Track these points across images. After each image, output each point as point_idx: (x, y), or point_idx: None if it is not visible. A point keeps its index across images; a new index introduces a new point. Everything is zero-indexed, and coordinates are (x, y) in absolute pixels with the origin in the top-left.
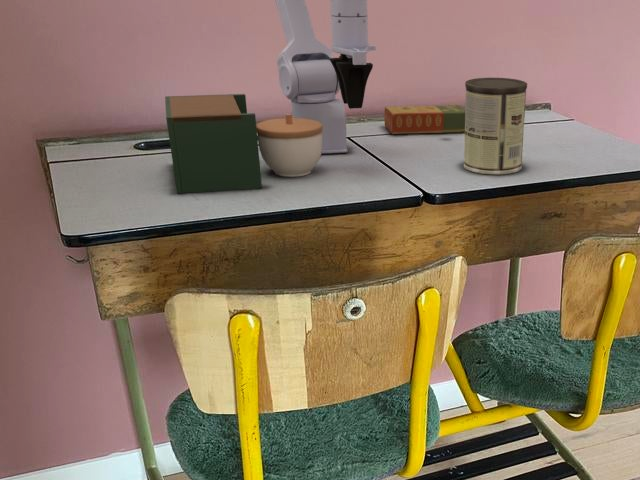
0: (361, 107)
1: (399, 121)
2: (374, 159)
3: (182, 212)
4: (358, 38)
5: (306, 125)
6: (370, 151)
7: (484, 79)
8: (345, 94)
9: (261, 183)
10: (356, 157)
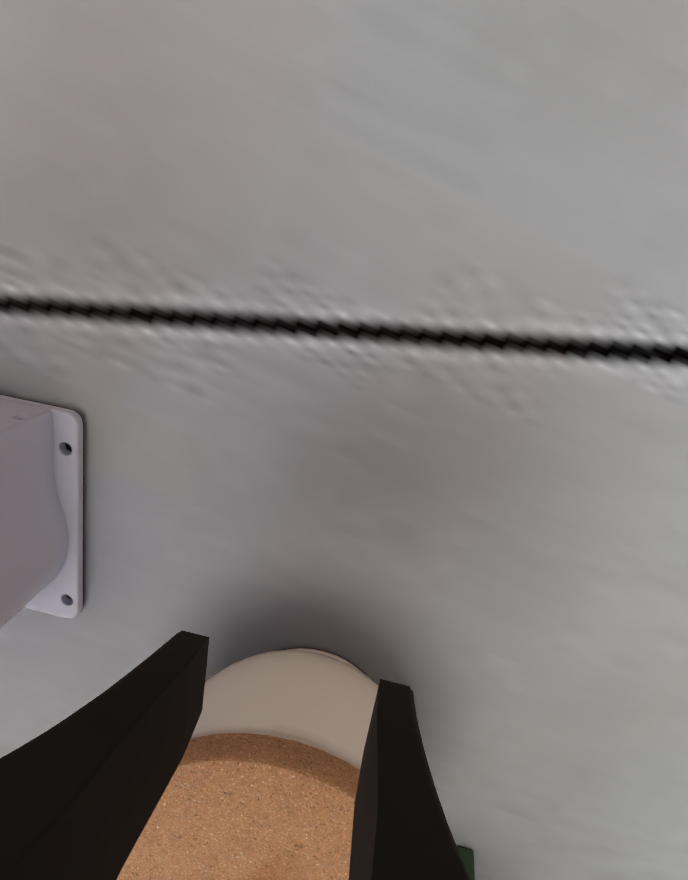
0: (409, 690)
1: None
2: (222, 338)
3: None
4: None
5: (331, 856)
6: (66, 291)
7: None
8: (173, 757)
9: (472, 865)
10: (162, 402)
